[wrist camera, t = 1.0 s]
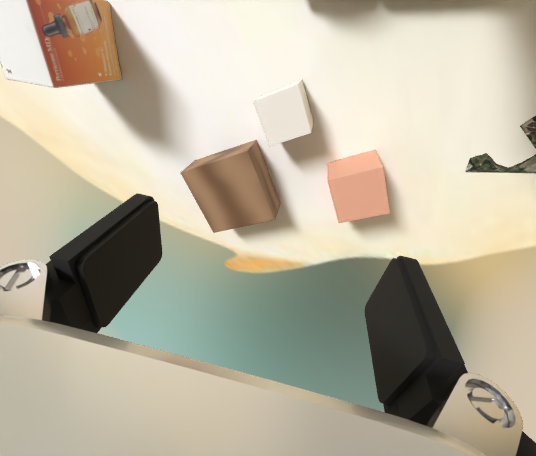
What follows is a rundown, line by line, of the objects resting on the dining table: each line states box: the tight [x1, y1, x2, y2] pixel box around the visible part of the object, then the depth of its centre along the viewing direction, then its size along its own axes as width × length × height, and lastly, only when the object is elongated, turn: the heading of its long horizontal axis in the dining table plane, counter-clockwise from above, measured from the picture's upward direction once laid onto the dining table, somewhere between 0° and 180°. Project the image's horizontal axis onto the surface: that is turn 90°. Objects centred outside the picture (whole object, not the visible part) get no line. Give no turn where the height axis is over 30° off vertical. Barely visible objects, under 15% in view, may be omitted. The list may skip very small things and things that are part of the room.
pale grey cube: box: [253, 80, 313, 146], centre depth 30 cm, size 5×5×5 cm
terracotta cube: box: [328, 150, 390, 223], centre depth 33 cm, size 6×6×6 cm
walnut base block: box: [181, 140, 280, 233], centre depth 37 cm, size 10×10×5 cm
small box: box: [0, 0, 122, 88], centre depth 28 cm, size 8×6×10 cm
